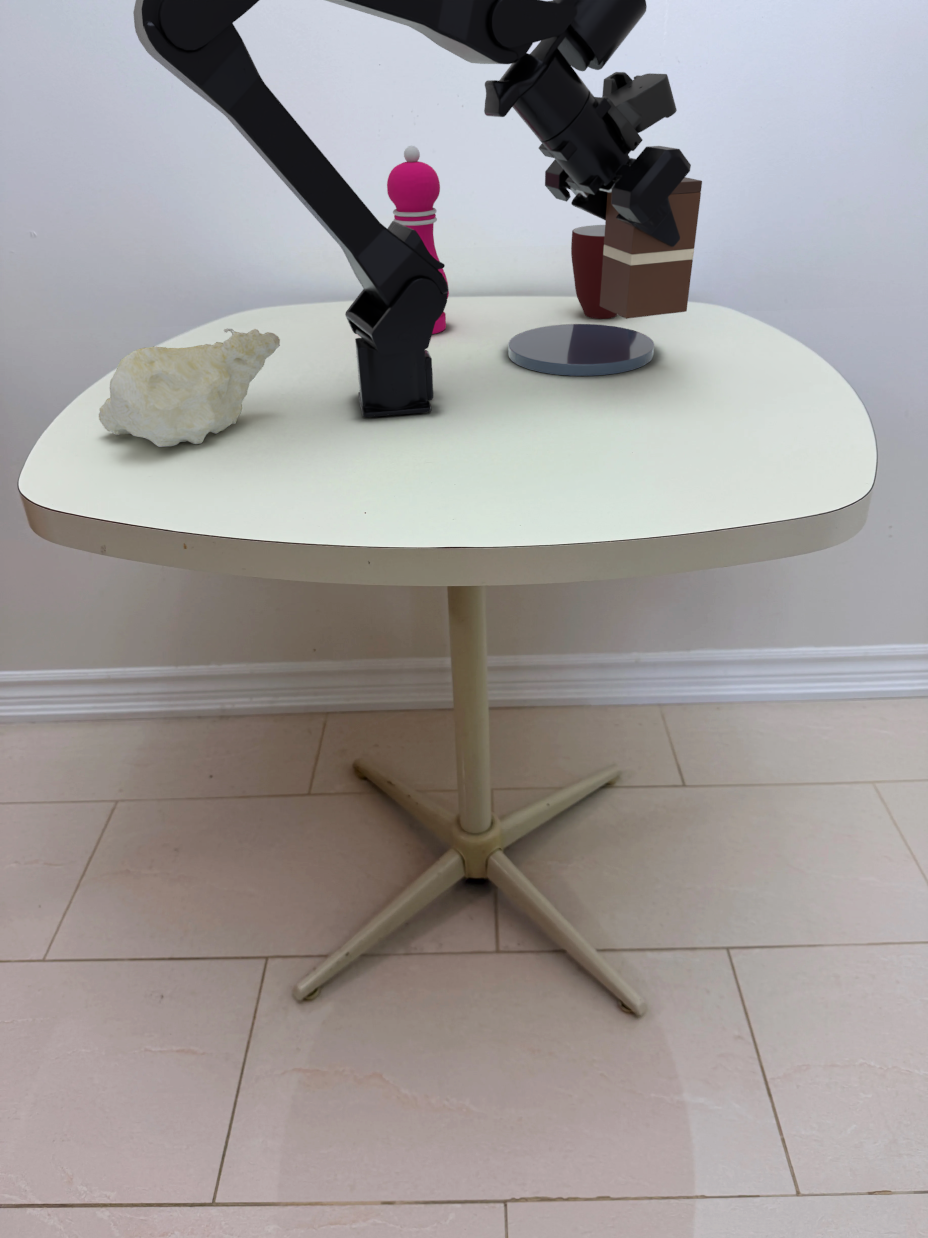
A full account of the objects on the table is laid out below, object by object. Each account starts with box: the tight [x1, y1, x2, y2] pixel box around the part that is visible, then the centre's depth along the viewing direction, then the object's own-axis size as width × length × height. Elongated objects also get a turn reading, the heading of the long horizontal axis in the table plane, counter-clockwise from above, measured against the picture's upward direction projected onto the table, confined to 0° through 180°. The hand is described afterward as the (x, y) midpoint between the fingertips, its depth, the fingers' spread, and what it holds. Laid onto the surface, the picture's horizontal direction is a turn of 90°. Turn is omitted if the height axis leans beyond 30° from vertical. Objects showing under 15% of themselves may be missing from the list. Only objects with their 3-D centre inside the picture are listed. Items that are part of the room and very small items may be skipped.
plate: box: [507, 323, 655, 377], centre depth 100 cm, size 16×16×1 cm
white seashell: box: [98, 328, 281, 448], centre depth 80 cm, size 15×7×15 cm
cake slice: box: [600, 176, 703, 320], centre depth 89 cm, size 7×6×12 cm
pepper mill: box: [386, 145, 450, 335], centre depth 105 cm, size 7×7×20 cm
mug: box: [570, 224, 618, 320], centre depth 111 cm, size 11×8×10 cm
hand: (660, 237), depth 89 cm, fingers closed on cake slice, 5 cm apart
